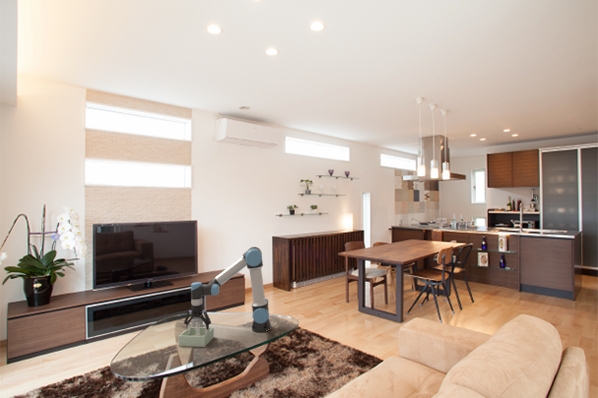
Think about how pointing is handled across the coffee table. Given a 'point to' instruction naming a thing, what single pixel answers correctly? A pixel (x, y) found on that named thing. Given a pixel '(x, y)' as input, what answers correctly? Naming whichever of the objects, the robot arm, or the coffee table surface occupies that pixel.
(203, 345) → the box
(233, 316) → the coffee table surface
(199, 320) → the mug
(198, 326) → the peg
